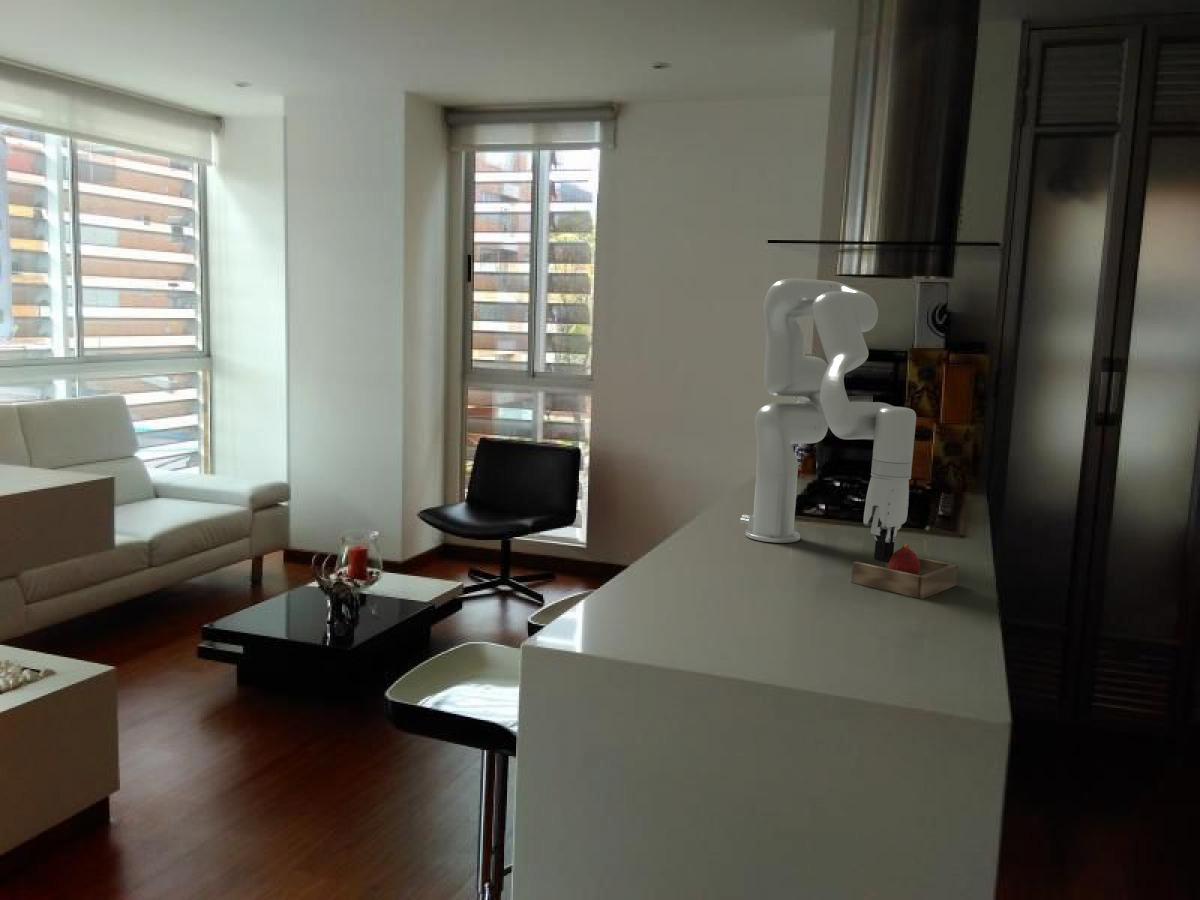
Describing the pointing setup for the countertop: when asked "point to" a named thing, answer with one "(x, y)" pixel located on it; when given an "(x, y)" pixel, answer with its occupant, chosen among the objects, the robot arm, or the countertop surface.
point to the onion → (905, 561)
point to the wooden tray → (907, 578)
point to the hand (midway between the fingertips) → (883, 560)
